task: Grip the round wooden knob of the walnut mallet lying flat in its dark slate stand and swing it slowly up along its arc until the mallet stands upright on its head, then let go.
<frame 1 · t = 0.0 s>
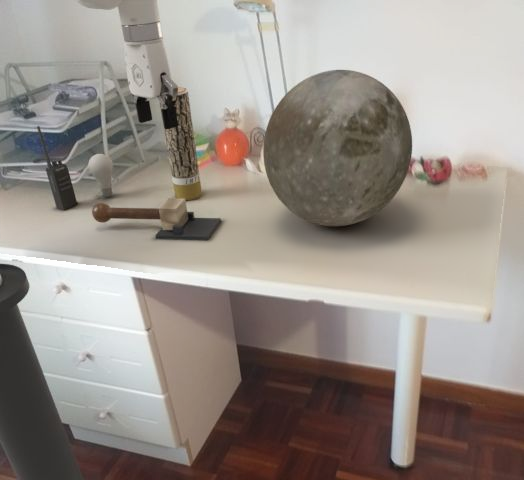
hand: (158, 124, 121), 21 cm above the table, tool pointing down, fingers open, 9 cm apart
paper tube: (189, 197, 144), on the table
walkie-talkie: (67, 207, 145), on the table
mallet: (137, 213, 127), point 4 cm above the table, hinge at 0.0°
stand: (184, 229, 127), on the table
globe: (336, 221, 125), on the table
lightbulb: (108, 197, 148), on the table
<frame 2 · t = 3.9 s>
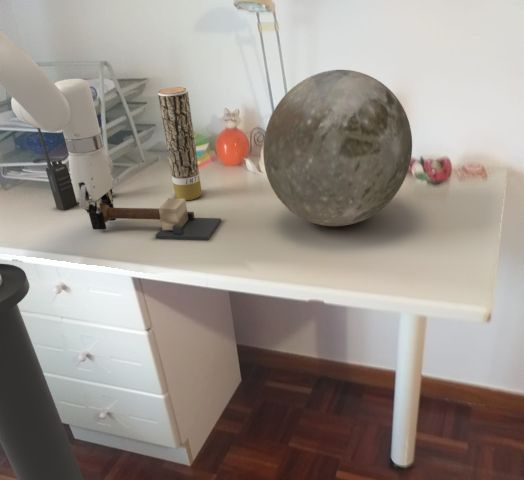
hand: (104, 223, 131), 1 cm above the table, tool pointing down, fingers closed on mallet, 4 cm apart
mallet: (137, 213, 127), point 4 cm above the table, hinge at 0.0°, touching gripper
everything else where it was.
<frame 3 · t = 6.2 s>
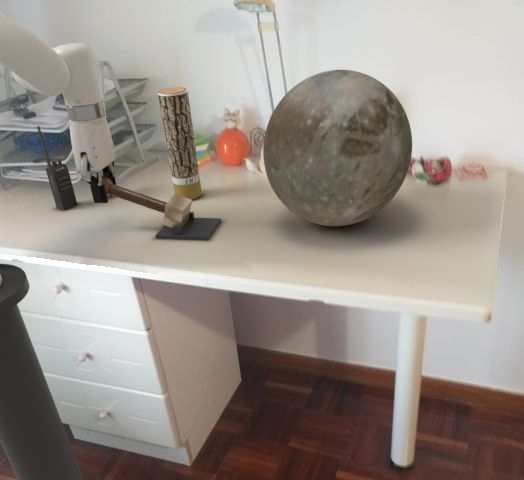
hand: (106, 197, 127), 7 cm above the table, tool pointing down, fingers closed on mallet, 4 cm apart
mallet: (139, 199, 125), point 7 cm above the table, hinge at 18.8°, touching gripper
everything else where it was.
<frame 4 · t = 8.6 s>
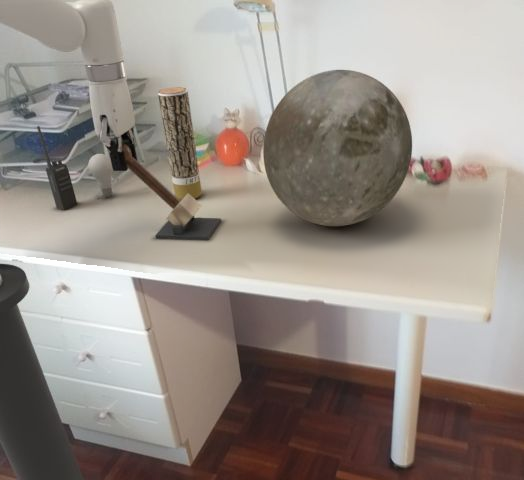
hand: (125, 165, 121), 14 cm above the table, tool pointing down, fingers closed on mallet, 4 cm apart
mallet: (152, 182, 122), point 11 cm above the table, hinge at 46.2°, touching gripper
everything else where it was.
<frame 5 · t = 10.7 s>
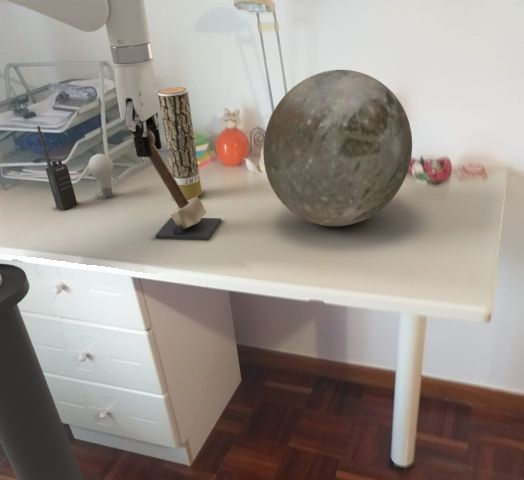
hand: (149, 151, 118), 17 cm above the table, tool pointing down, fingers closed on mallet, 4 cm apart
mallet: (167, 176, 120), point 12 cm above the table, hinge at 65.7°, touching gripper
everything else where it was.
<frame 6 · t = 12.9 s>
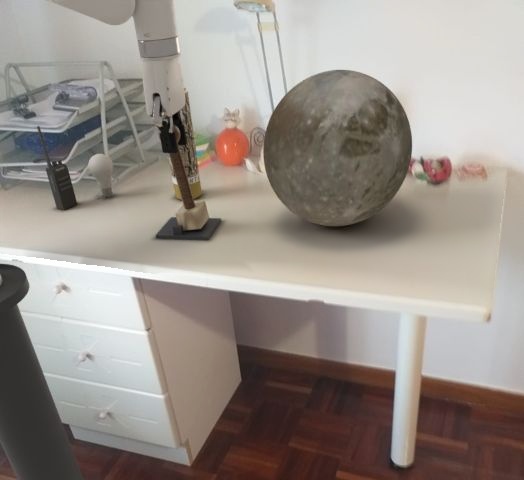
hand: (174, 147, 116), 18 cm above the table, tool pointing down, fingers closed on mallet, 4 cm apart
mallet: (181, 176, 120), point 12 cm above the table, hinge at 82.5°, touching gripper
everything else where it was.
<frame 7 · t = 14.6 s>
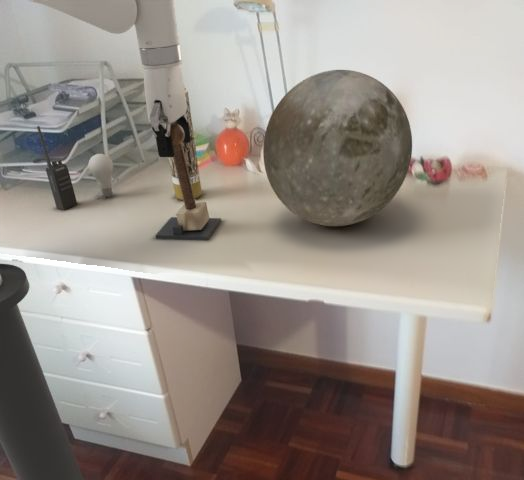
hand: (175, 149, 116), 18 cm above the table, tool pointing down, fingers open, 9 cm apart
mallet: (183, 176, 120), point 12 cm above the table, hinge at 85.1°
everything else where it was.
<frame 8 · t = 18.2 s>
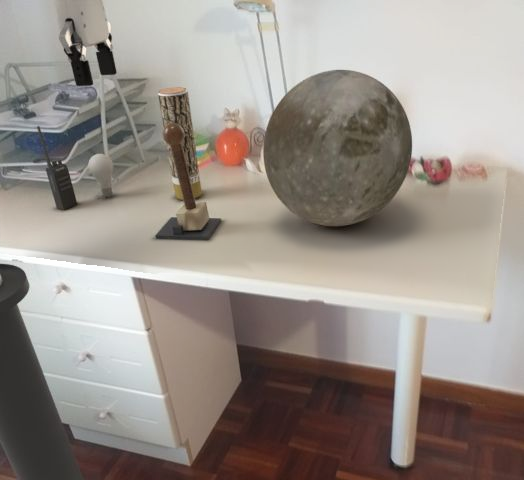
hand: (97, 79, 106), 32 cm above the table, tool pointing down, fingers open, 9 cm apart
nothing on the table moved.
at the end: mallet at +85° (first picture: +0°); the gripper is holding nothing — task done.
